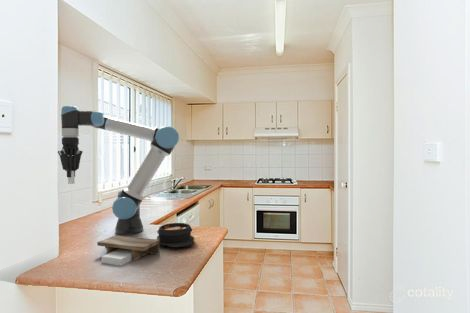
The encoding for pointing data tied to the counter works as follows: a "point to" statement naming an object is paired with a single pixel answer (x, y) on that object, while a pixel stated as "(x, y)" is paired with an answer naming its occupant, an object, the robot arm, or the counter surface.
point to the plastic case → (118, 257)
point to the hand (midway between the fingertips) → (71, 183)
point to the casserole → (175, 235)
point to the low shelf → (131, 245)
